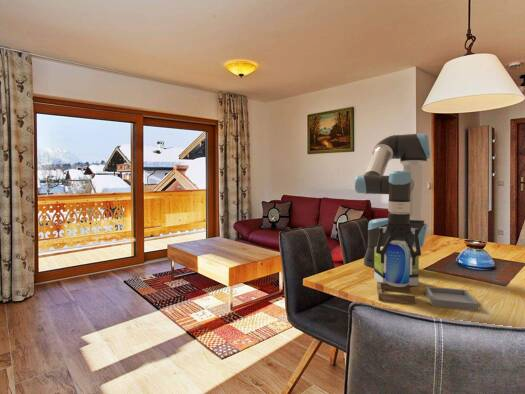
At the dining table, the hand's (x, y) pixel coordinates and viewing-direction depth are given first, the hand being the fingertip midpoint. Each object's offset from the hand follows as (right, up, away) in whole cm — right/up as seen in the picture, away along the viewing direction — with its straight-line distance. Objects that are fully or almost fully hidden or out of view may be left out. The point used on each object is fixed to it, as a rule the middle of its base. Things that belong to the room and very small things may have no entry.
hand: (397, 272), depth 125 cm
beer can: (0, -5, 0) cm, 4 cm away
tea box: (+5, -8, +15) cm, 18 cm away
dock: (0, -9, 0) cm, 9 cm away
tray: (+17, -9, -5) cm, 20 cm away
